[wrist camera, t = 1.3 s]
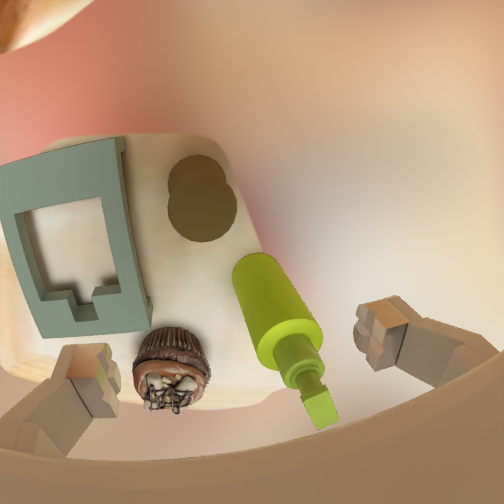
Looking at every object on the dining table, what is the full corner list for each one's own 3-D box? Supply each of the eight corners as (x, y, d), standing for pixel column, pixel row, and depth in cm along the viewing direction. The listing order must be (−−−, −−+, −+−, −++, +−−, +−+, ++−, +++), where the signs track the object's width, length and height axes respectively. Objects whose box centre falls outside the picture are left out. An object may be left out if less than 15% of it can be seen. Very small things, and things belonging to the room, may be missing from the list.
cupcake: (140, 374, 40) (137, 430, 31) (132, 319, 36) (123, 377, 27) (206, 373, 42) (215, 429, 33) (208, 319, 38) (218, 376, 29)
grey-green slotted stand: (10, 162, 25) (-10, 169, 21) (123, 135, 28) (114, 138, 24) (53, 317, 34) (42, 338, 30) (152, 307, 36) (150, 330, 32)
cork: (176, 218, 32) (175, 263, 23) (161, 164, 30) (150, 185, 20) (231, 203, 33) (254, 241, 23) (218, 148, 30) (236, 161, 21)
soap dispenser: (246, 310, 39) (296, 445, 21) (223, 266, 36) (267, 405, 18) (289, 290, 39) (364, 413, 21) (270, 244, 36) (352, 364, 18)
